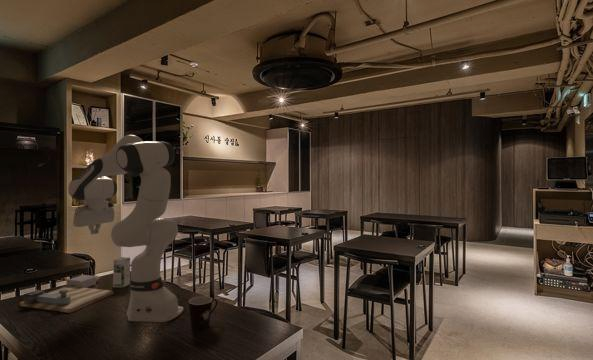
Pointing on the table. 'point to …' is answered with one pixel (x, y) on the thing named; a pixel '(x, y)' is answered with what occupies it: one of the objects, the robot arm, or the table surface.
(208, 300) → the coffee mug
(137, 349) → the table surface
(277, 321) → the table surface
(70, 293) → the pintle plate
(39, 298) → the link
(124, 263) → the syrup box
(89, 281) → the charger
